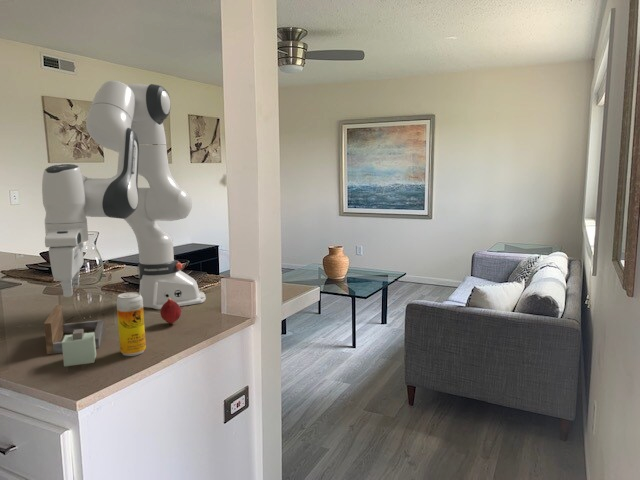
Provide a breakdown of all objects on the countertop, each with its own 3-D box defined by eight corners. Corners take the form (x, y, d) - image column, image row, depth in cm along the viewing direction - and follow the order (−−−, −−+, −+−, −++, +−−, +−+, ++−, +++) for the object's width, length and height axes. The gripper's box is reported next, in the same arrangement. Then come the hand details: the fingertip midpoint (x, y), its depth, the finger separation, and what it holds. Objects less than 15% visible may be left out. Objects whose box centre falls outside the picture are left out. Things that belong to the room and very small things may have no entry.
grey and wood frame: (104, 327, 141) (102, 301, 139) (99, 347, 126) (96, 318, 124) (58, 332, 137) (55, 305, 135) (47, 354, 122) (43, 323, 120)
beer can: (130, 358, 119) (126, 299, 116) (115, 353, 122) (110, 296, 119) (151, 350, 124) (147, 293, 121) (135, 345, 127) (131, 290, 124)
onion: (185, 321, 145) (184, 296, 144) (173, 328, 140) (172, 301, 139) (169, 319, 147) (167, 294, 146) (157, 326, 142) (155, 299, 141)
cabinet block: (96, 355, 121) (93, 326, 120) (94, 362, 117) (91, 333, 115) (67, 358, 119) (64, 329, 118) (64, 366, 115) (61, 336, 113)
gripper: (60, 229, 123) (64, 282, 125) (42, 240, 104) (48, 303, 106) (87, 228, 125) (91, 280, 127) (75, 239, 106) (80, 300, 108)
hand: (71, 291), depth 116 cm, fingers open, 8 cm apart
